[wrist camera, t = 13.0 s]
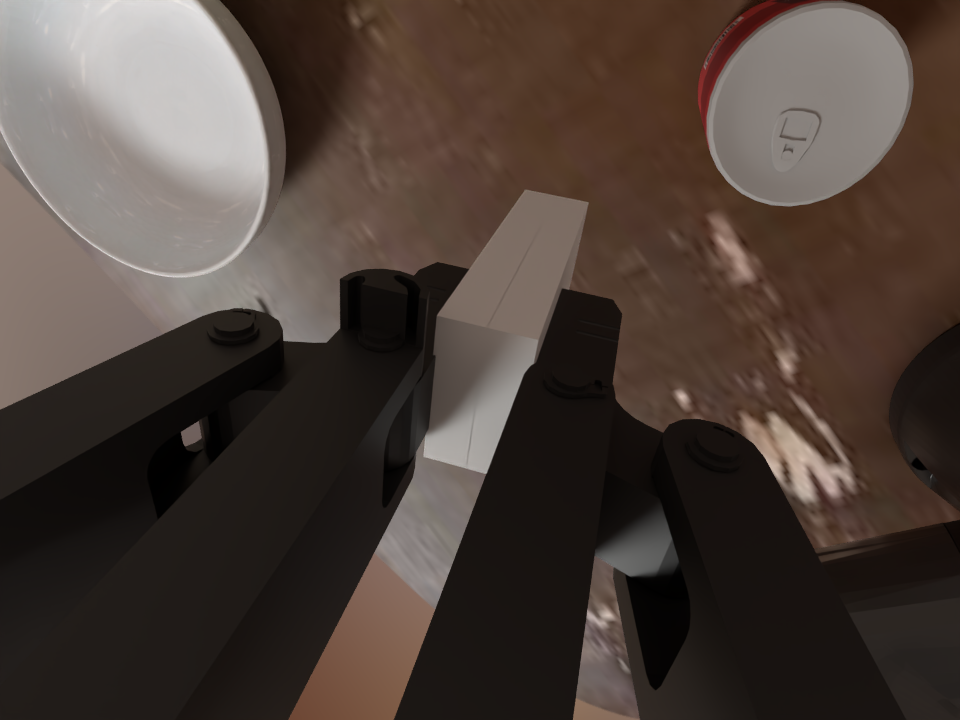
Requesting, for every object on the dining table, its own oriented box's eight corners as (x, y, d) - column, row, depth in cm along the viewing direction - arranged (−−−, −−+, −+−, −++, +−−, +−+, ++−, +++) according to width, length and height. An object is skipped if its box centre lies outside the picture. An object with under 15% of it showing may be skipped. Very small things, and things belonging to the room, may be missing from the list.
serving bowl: (21, -70, 41) (-84, -80, 35) (304, -58, 37) (238, -66, 31) (108, 228, 52) (39, 257, 46) (333, 262, 48) (288, 300, 42)
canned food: (696, 160, 37) (706, 216, 28) (696, 11, 33) (707, 21, 24) (838, 143, 35) (898, 199, 26) (855, -18, 31) (933, -20, 22)
